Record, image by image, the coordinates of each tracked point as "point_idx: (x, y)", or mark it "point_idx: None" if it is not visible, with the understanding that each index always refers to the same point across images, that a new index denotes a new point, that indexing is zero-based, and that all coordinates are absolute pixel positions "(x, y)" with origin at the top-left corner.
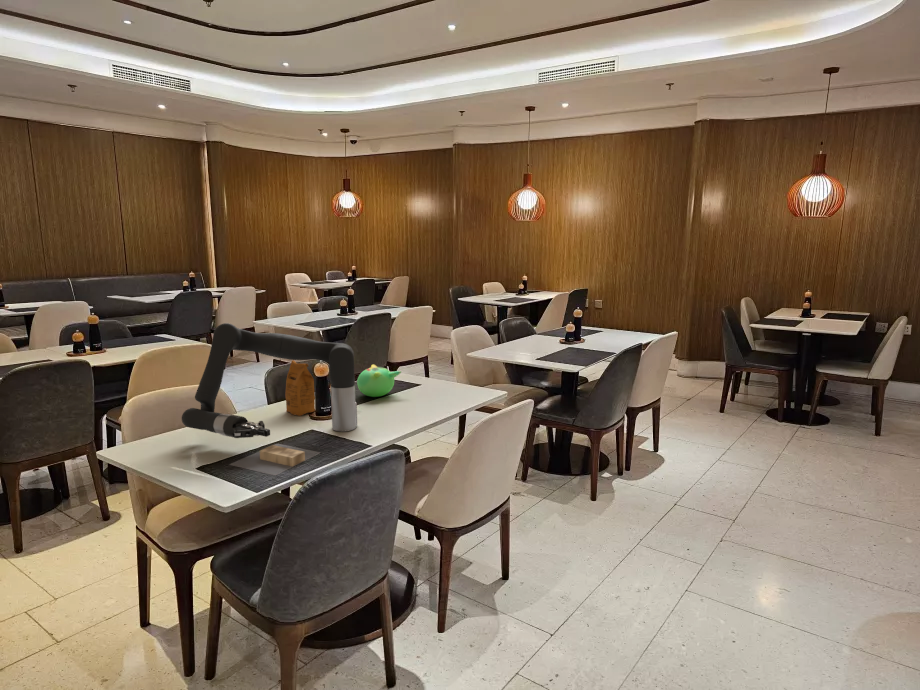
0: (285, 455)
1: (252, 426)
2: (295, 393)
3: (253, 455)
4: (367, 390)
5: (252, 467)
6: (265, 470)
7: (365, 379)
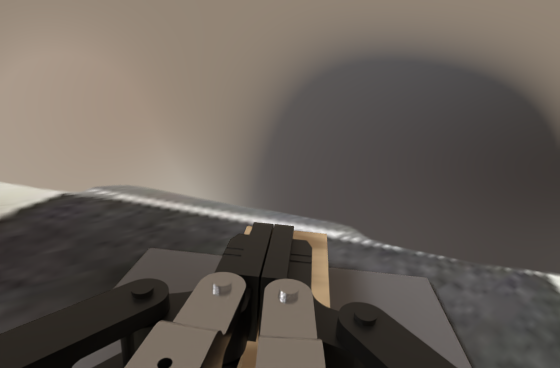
0: (319, 255)
1: (278, 338)
2: None
3: None
4: None
5: None
6: (426, 327)
7: None
